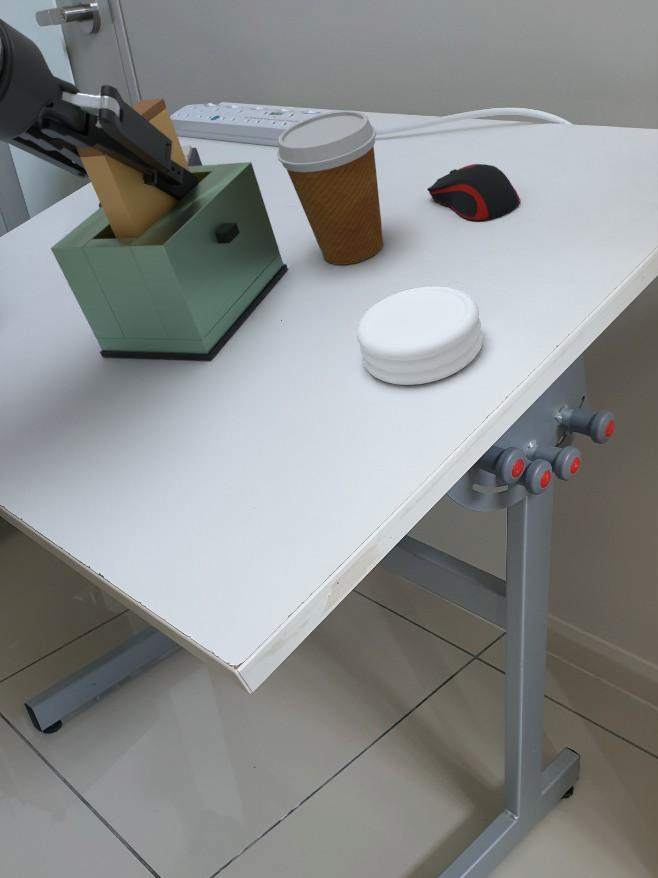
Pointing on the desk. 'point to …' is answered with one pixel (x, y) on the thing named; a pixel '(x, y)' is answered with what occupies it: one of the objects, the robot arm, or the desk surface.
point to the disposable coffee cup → (336, 182)
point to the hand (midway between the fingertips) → (178, 192)
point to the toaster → (177, 270)
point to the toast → (132, 180)
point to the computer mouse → (476, 192)
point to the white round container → (420, 335)
